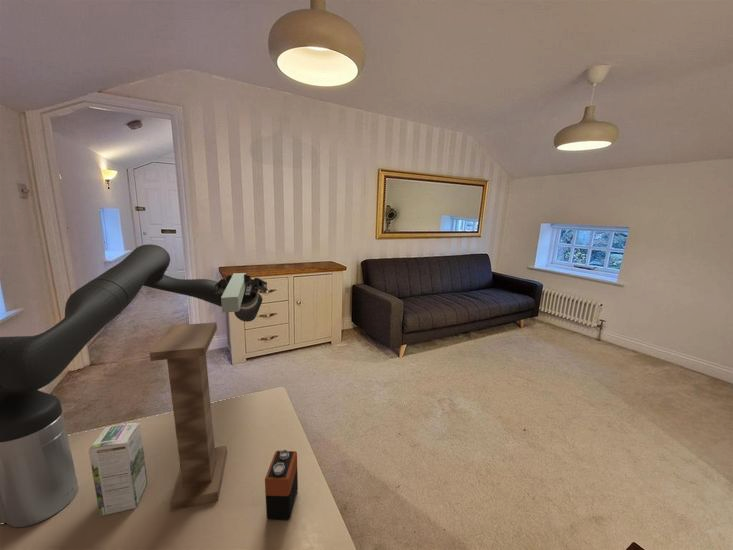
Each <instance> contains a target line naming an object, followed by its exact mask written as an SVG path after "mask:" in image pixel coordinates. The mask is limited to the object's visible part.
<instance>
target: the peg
mask: <svg viewBox="0 0 733 550" xmlns="http://www.w3.org/2000/svg"><path fill="white" fill-rule="evenodd" d="M244 274H247V273H246V272H240V273H239V272H237V273H233V274H231V275H232V278H231V279H230V281H229V283H228V285H227V287H226V289H225V291H224V293H223V295H222V297H221V303H222V307H221V312H222V314H224V313H234V312H238V311H239V309H240V306H241V302H242V299H243V295H244V291H245V288H246V285H245V283H244Z"/></svg>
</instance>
